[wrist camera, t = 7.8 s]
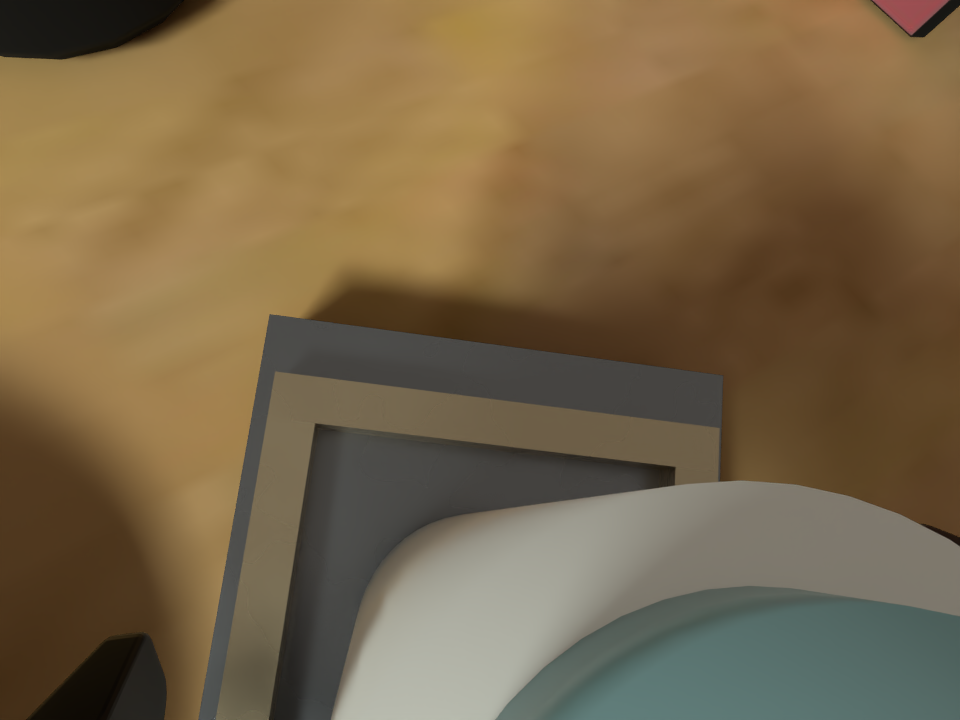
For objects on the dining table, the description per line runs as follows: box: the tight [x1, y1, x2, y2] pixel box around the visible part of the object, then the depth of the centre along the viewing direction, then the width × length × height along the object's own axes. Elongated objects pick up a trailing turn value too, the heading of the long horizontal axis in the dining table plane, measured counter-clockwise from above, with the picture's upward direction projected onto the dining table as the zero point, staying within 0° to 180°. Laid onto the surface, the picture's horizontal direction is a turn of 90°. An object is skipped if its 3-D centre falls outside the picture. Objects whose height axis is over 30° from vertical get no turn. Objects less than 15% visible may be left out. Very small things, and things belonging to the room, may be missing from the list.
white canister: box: [331, 481, 960, 720], centre depth 10 cm, size 5×5×14 cm
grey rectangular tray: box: [198, 314, 723, 720], centre depth 17 cm, size 13×11×4 cm
